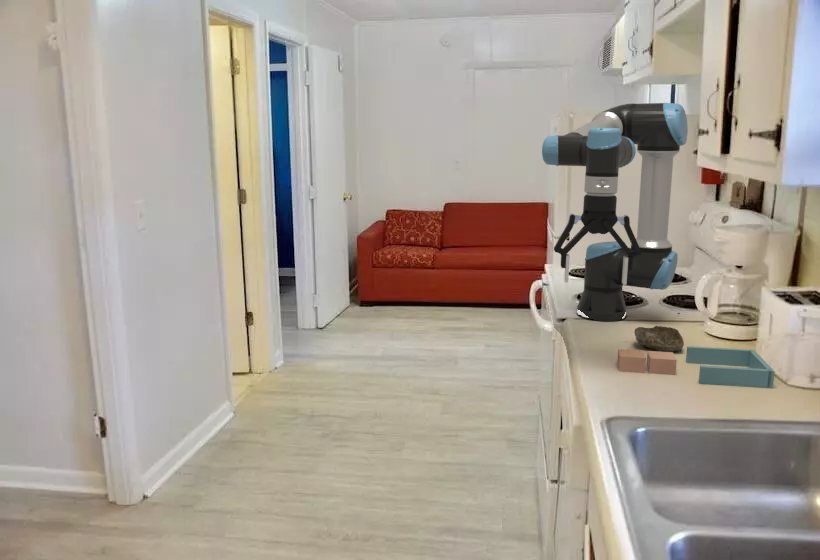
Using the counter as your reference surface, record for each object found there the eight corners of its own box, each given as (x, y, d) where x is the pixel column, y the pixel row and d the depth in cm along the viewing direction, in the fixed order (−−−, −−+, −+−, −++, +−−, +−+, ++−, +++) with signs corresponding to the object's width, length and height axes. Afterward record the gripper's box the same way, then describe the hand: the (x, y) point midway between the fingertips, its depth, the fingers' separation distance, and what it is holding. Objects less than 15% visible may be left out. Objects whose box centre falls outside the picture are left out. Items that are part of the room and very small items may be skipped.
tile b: (617, 364, 180) (618, 349, 179) (642, 366, 179) (643, 350, 178) (619, 372, 174) (620, 356, 173) (644, 373, 173) (646, 358, 172)
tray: (685, 361, 182) (687, 346, 181) (752, 365, 179) (754, 349, 178) (699, 383, 166) (701, 367, 165) (772, 388, 164) (774, 371, 163)
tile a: (646, 366, 179) (647, 350, 178) (671, 367, 178) (672, 352, 177) (649, 374, 173) (650, 358, 172) (675, 375, 172) (676, 359, 171)
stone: (635, 345, 189) (635, 317, 192) (631, 356, 196) (632, 329, 199) (685, 349, 186) (685, 321, 190) (680, 360, 193) (680, 333, 196)
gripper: (547, 194, 168) (542, 283, 172) (658, 197, 164) (651, 287, 168) (546, 191, 175) (542, 277, 179) (652, 194, 171) (646, 281, 175)
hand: (595, 282), depth 174 cm, fingers open, 13 cm apart
